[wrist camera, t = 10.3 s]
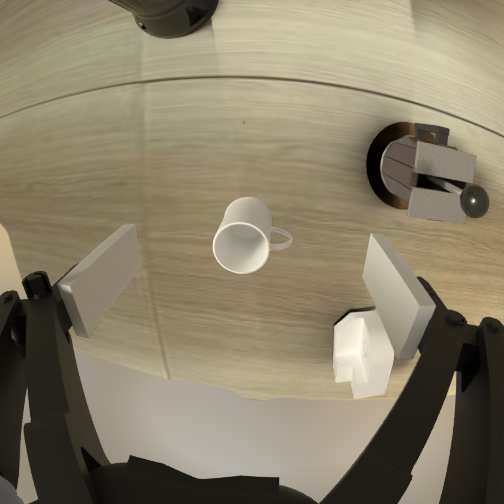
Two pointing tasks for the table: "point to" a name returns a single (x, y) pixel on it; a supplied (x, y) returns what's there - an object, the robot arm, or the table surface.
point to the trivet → (374, 157)
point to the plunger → (462, 195)
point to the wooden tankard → (431, 163)
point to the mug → (246, 236)
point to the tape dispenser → (362, 352)
